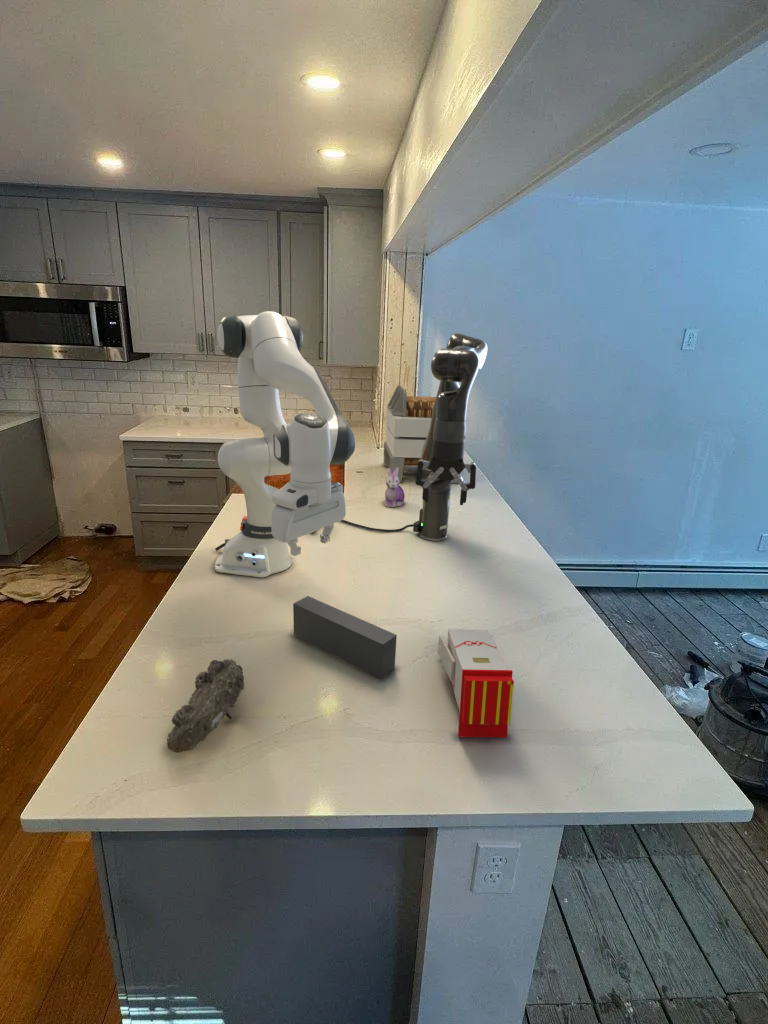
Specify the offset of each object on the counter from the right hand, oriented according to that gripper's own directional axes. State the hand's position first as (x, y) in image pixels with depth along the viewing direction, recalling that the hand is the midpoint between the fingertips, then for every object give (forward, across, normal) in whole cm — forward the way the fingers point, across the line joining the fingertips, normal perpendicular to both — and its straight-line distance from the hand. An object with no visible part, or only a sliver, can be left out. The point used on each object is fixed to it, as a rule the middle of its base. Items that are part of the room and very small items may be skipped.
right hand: (443, 503), depth 138 cm
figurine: (+31, +17, -85) cm, 92 cm away
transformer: (+31, +9, -134) cm, 138 cm away
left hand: (+8, +30, +16) cm, 34 cm away
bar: (+31, +21, +21) cm, 43 cm away
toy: (+31, -8, +32) cm, 45 cm away
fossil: (+31, +42, +47) cm, 70 cm away
